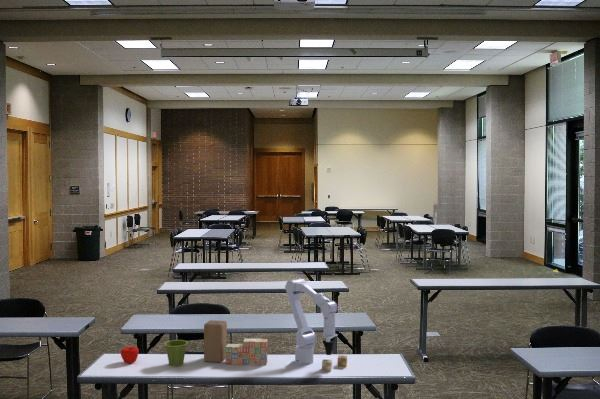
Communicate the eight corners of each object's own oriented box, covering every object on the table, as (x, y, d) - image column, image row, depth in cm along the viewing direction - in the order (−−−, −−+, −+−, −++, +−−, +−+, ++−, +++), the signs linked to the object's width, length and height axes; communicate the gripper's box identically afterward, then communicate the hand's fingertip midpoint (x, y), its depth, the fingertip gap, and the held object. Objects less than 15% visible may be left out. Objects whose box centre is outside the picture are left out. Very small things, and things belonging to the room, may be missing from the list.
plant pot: (163, 362, 300) (163, 340, 299) (186, 360, 303) (186, 339, 303) (165, 369, 288) (165, 346, 288) (189, 366, 292) (189, 344, 292)
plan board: (319, 372, 283) (319, 371, 283) (322, 363, 299) (322, 362, 299) (347, 374, 281) (347, 373, 281) (349, 364, 296) (349, 363, 296)
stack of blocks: (225, 364, 296) (225, 341, 296) (227, 361, 303) (227, 337, 302) (266, 365, 296) (266, 341, 295) (267, 361, 302) (267, 338, 302)
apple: (121, 366, 293) (121, 350, 293) (119, 361, 301) (119, 346, 301) (139, 363, 297) (139, 348, 297) (137, 359, 305) (137, 344, 305)
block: (203, 362, 300) (203, 324, 300) (209, 356, 310) (209, 319, 310) (221, 363, 299) (221, 324, 298) (227, 357, 309) (227, 320, 308)
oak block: (337, 366, 291) (337, 357, 291) (338, 364, 296) (338, 355, 296) (346, 367, 290) (346, 358, 290) (347, 364, 295) (347, 355, 295)
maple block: (321, 371, 284) (321, 362, 284) (323, 368, 289) (323, 359, 289) (330, 371, 284) (330, 362, 284) (331, 368, 288) (331, 359, 288)
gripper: (336, 329, 280) (336, 357, 280) (338, 322, 294) (338, 348, 294) (321, 328, 281) (321, 356, 281) (324, 322, 295) (324, 348, 295)
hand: (329, 352), depth 288 cm, fingers open, 7 cm apart
